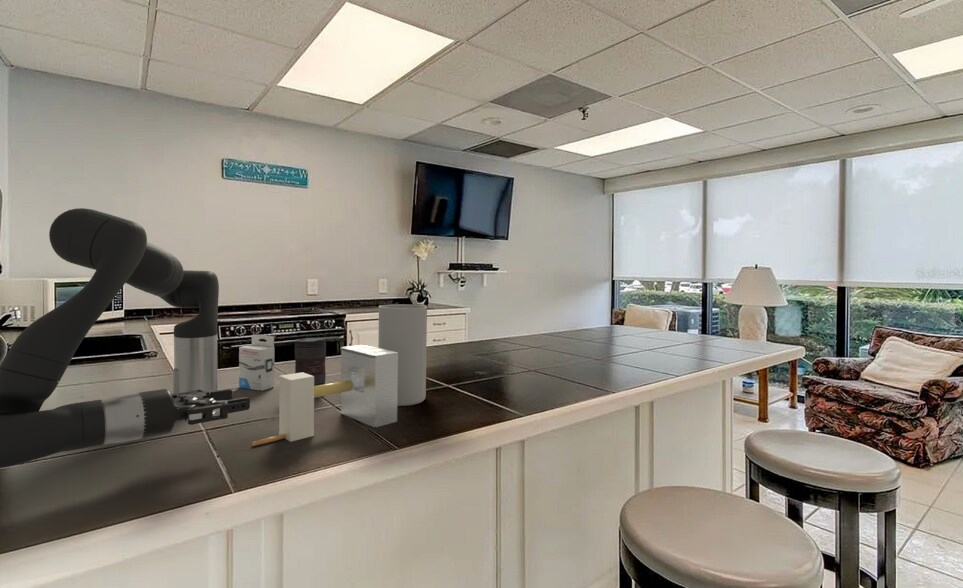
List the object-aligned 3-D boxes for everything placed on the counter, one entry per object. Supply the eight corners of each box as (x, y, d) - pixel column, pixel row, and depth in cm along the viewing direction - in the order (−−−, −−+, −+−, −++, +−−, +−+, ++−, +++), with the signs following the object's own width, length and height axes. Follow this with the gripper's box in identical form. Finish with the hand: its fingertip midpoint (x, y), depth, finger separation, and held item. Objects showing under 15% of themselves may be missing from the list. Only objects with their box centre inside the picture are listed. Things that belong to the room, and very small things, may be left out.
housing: (372, 428, 105) (373, 355, 104) (338, 413, 114) (339, 347, 113) (397, 421, 110) (397, 352, 109) (362, 408, 119) (363, 344, 118)
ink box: (238, 388, 136) (237, 336, 135) (251, 384, 140) (251, 334, 139) (262, 391, 133) (261, 338, 132) (275, 387, 137) (275, 336, 137)
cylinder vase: (368, 399, 127) (369, 305, 125) (405, 391, 136) (407, 303, 135) (397, 410, 118) (398, 309, 117) (435, 400, 127) (436, 307, 126)
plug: (257, 450, 91) (257, 385, 90) (246, 443, 94) (246, 380, 94) (355, 424, 107) (356, 369, 106) (343, 419, 110) (344, 365, 109)
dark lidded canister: (330, 390, 135) (330, 337, 135) (318, 397, 127) (318, 342, 127) (303, 388, 136) (303, 336, 135) (289, 396, 128) (289, 340, 127)
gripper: (147, 401, 73) (255, 385, 85) (126, 385, 83) (226, 373, 95) (147, 450, 74) (255, 426, 86) (126, 428, 83) (226, 410, 95)
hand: (240, 398), depth 90 cm, fingers open, 8 cm apart
